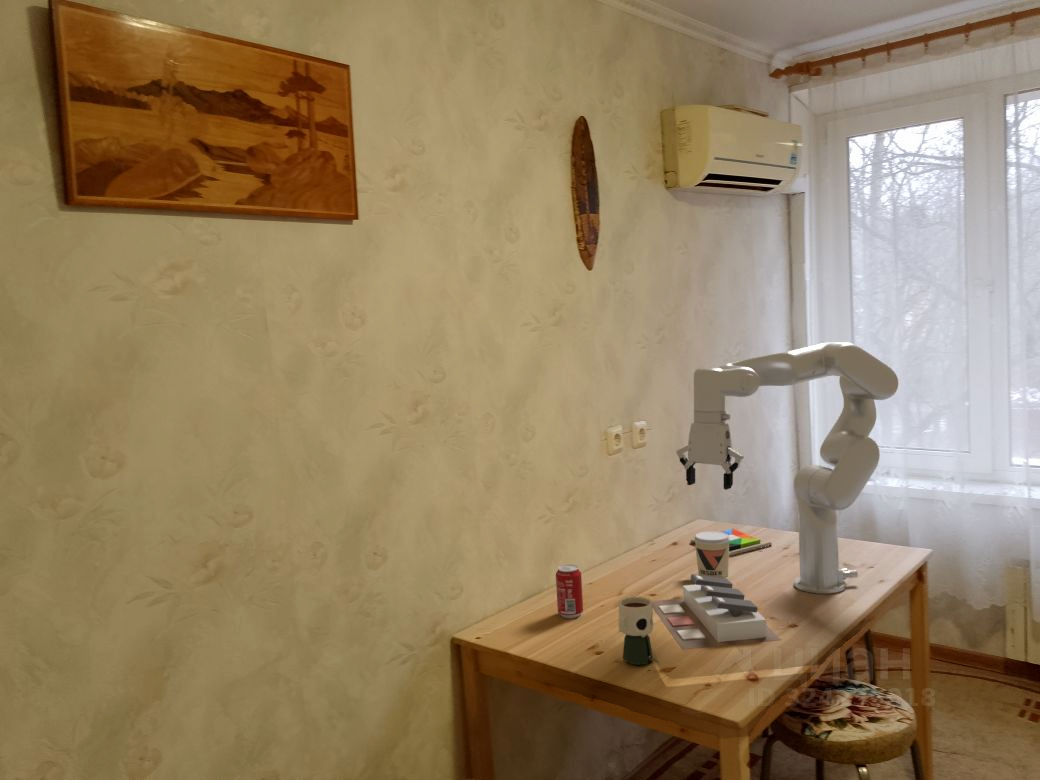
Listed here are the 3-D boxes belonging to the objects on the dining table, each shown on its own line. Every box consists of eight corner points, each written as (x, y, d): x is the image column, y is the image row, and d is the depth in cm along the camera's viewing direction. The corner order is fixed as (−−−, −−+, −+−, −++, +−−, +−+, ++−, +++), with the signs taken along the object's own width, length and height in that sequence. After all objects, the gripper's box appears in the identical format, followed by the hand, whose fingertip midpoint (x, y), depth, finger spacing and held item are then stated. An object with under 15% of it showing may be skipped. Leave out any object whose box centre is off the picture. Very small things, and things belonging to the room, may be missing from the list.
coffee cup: (693, 582, 222) (691, 539, 221) (699, 572, 230) (697, 530, 229) (728, 585, 218) (726, 541, 217) (733, 574, 227) (731, 531, 226)
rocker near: (748, 612, 187) (750, 600, 187) (755, 619, 183) (757, 606, 183) (710, 607, 186) (712, 595, 186) (716, 614, 182) (718, 602, 182)
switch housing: (726, 597, 206) (726, 581, 206) (766, 637, 180) (766, 619, 180) (683, 601, 205) (683, 585, 205) (717, 641, 179) (717, 624, 179)
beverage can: (586, 610, 206) (583, 564, 205) (579, 620, 200) (577, 572, 199) (562, 609, 208) (559, 563, 207) (554, 618, 202) (552, 571, 201)
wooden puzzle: (731, 559, 242) (730, 547, 242) (688, 545, 258) (688, 534, 258) (774, 547, 250) (773, 536, 250) (730, 535, 267) (729, 524, 266)
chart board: (733, 598, 208) (733, 592, 208) (781, 645, 179) (781, 638, 179) (648, 606, 207) (648, 600, 207) (682, 654, 177) (682, 647, 177)
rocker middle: (736, 600, 195) (737, 588, 195) (742, 606, 191) (744, 594, 190) (699, 595, 194) (701, 584, 194) (705, 602, 190) (707, 590, 190)
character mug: (635, 674, 169) (632, 613, 168) (608, 665, 174) (605, 605, 173) (667, 657, 176) (664, 598, 175) (640, 648, 181) (637, 591, 180)
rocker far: (724, 589, 203) (726, 578, 203) (730, 595, 199) (732, 583, 198) (689, 584, 202) (691, 573, 202) (694, 590, 198) (696, 579, 197)
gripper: (749, 418, 200) (748, 487, 201) (684, 414, 210) (684, 480, 212) (736, 421, 194) (736, 493, 195) (670, 417, 204) (670, 485, 206)
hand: (709, 486), depth 204 cm, fingers open, 9 cm apart
